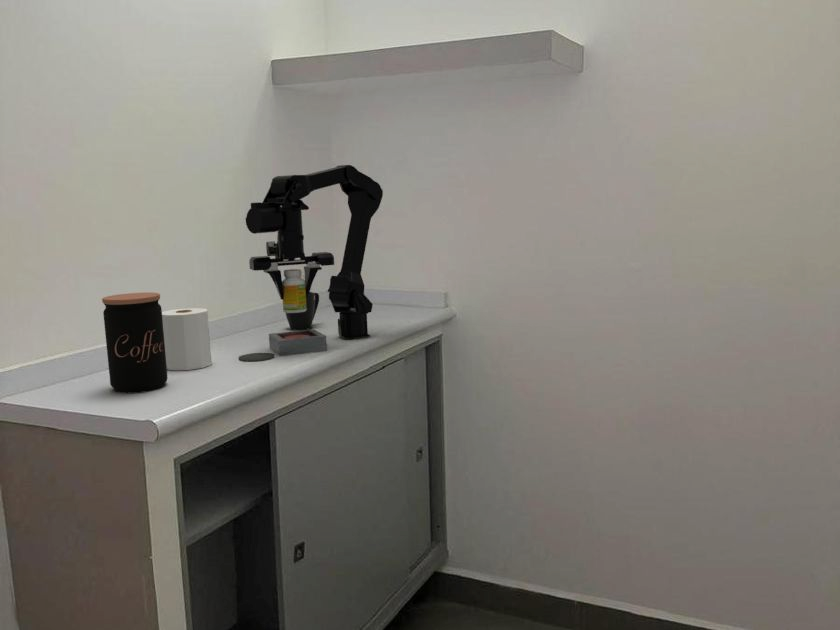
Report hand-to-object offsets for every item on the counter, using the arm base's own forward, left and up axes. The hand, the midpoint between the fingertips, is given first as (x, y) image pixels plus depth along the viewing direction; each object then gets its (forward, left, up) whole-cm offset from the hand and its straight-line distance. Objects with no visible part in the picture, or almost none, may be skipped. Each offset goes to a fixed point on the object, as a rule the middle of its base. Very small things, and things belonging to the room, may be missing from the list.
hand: (294, 298), depth 193 cm
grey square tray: (0, 0, -12) cm, 12 cm away
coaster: (+10, +4, -12) cm, 17 cm away
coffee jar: (+36, +20, -12) cm, 44 cm away
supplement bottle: (0, 0, -3) cm, 3 cm away
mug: (-10, -31, -12) cm, 34 cm away
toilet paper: (+25, +4, -12) cm, 29 cm away
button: (0, 0, -12) cm, 12 cm away
